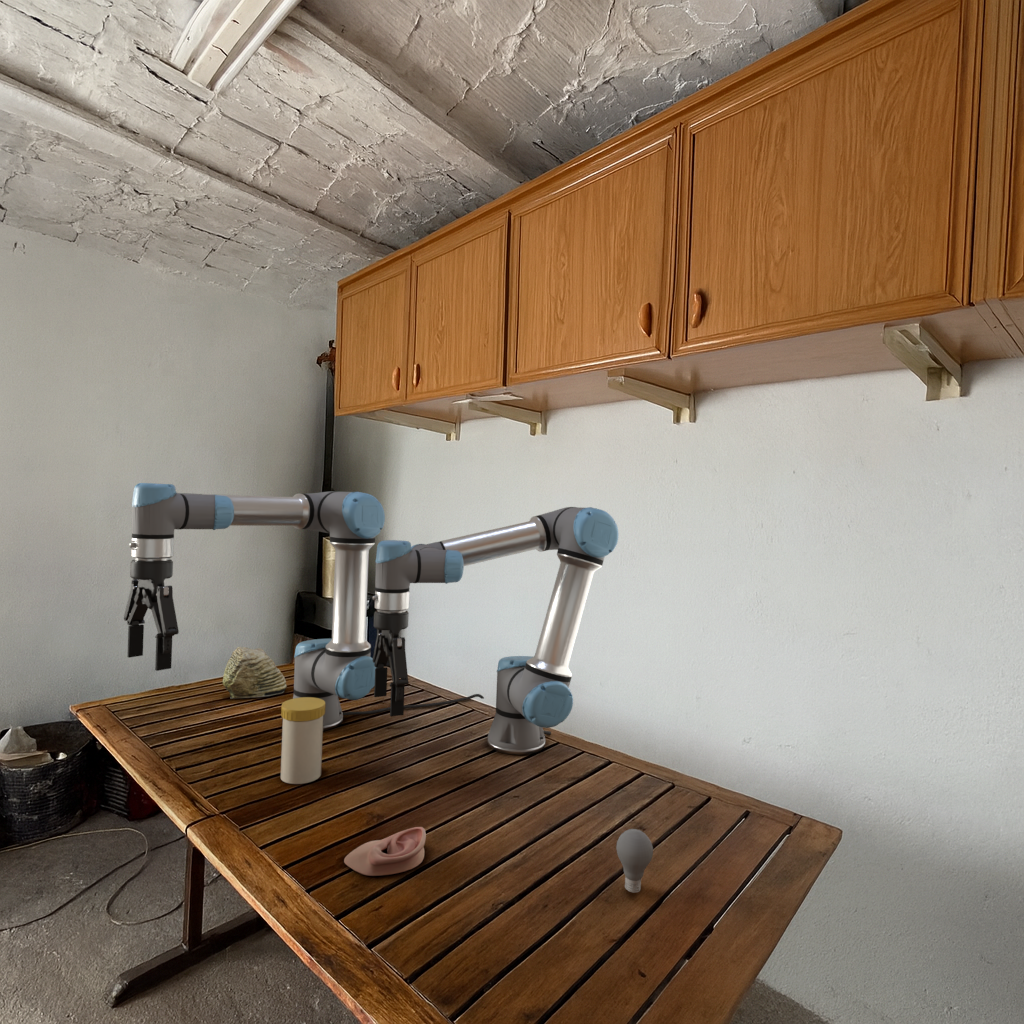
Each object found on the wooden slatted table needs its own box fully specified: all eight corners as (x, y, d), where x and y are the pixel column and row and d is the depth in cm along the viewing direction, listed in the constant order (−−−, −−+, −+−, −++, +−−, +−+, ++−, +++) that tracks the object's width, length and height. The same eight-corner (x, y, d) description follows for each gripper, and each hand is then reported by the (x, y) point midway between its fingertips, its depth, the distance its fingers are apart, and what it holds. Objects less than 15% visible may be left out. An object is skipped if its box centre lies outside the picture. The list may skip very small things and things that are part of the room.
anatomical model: (336, 847, 108) (365, 815, 119) (335, 870, 108) (364, 836, 119) (410, 859, 105) (432, 825, 116) (409, 883, 105) (431, 846, 116)
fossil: (218, 695, 195) (220, 647, 195) (278, 685, 208) (279, 640, 207) (228, 703, 189) (230, 653, 188) (289, 692, 201) (290, 645, 201)
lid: (292, 724, 136) (292, 713, 136) (274, 712, 143) (274, 702, 143) (332, 715, 143) (333, 705, 143) (313, 704, 150) (313, 694, 150)
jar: (290, 787, 137) (293, 714, 137) (273, 774, 144) (276, 704, 143) (328, 777, 143) (330, 707, 143) (310, 764, 150) (313, 697, 149)
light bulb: (610, 879, 108) (613, 822, 108) (644, 879, 109) (647, 822, 109) (619, 902, 102) (622, 840, 102) (655, 901, 103) (658, 840, 103)
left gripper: (108, 554, 134) (104, 654, 134) (159, 565, 118) (155, 678, 119) (146, 552, 140) (143, 648, 140) (199, 563, 124) (195, 671, 124)
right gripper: (361, 601, 150) (358, 690, 150) (390, 621, 127) (386, 726, 128) (392, 600, 153) (389, 687, 154) (425, 619, 131) (422, 721, 131)
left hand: (148, 662), depth 129 cm, fingers open, 13 cm apart
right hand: (388, 705), depth 141 cm, fingers open, 13 cm apart
